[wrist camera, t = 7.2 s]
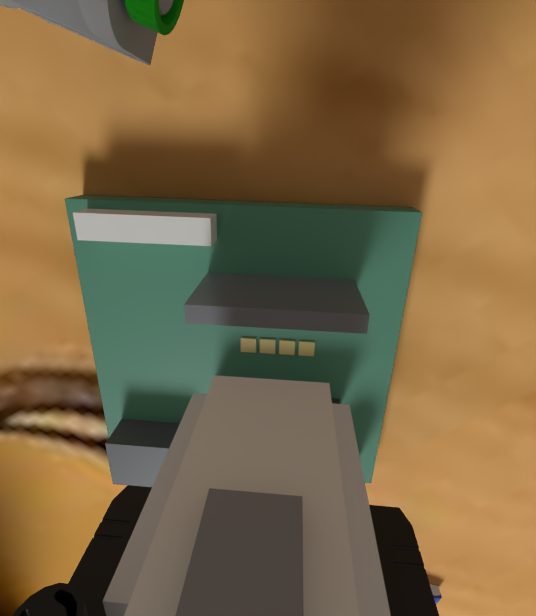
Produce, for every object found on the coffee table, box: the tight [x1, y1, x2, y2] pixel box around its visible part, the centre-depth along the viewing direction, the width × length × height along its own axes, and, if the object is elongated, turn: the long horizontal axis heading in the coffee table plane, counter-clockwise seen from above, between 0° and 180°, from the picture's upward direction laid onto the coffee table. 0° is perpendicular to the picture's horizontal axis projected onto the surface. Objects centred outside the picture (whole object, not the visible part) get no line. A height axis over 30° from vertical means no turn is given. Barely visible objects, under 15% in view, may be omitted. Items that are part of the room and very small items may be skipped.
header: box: [184, 273, 370, 404], centre depth 17 cm, size 7×7×4 cm
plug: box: [124, 375, 359, 616], centre depth 10 cm, size 4×5×8 cm
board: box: [65, 195, 422, 487], centre depth 19 cm, size 16×16×4 cm
